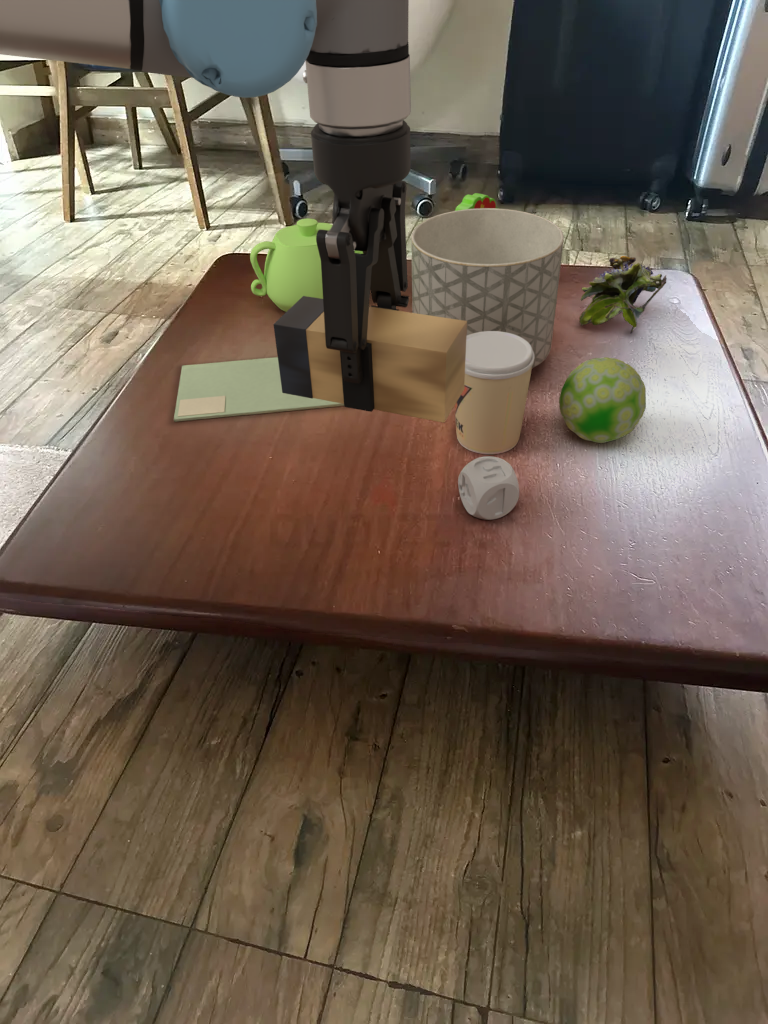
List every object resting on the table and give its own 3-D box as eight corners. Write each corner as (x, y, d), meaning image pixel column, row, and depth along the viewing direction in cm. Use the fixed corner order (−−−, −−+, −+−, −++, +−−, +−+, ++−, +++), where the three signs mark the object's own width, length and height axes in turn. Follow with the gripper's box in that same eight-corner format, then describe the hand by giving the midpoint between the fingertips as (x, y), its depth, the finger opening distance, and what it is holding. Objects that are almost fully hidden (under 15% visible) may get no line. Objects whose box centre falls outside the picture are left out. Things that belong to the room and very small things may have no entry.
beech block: (464, 389, 73) (467, 320, 69) (444, 423, 69) (446, 352, 64) (310, 362, 78) (303, 295, 74) (282, 393, 74) (273, 324, 69)
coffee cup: (452, 413, 100) (454, 328, 92) (526, 417, 99) (534, 330, 91) (446, 456, 93) (448, 367, 85) (526, 461, 92) (535, 371, 84)
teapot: (373, 272, 134) (370, 195, 126) (400, 309, 123) (398, 226, 115) (246, 293, 130) (234, 213, 121) (263, 332, 119) (250, 248, 110)
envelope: (174, 421, 101) (173, 418, 101) (182, 367, 111) (181, 364, 111) (358, 404, 103) (358, 401, 102) (349, 353, 113) (349, 349, 113)
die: (475, 525, 83) (477, 488, 80) (457, 497, 87) (458, 461, 84) (517, 513, 85) (521, 477, 81) (497, 487, 88) (500, 451, 85)
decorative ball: (609, 406, 100) (622, 335, 94) (654, 448, 93) (671, 375, 86) (540, 422, 98) (548, 351, 91) (580, 467, 91) (592, 392, 84)
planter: (572, 351, 111) (589, 224, 99) (506, 413, 100) (517, 277, 88) (458, 319, 120) (462, 199, 108) (386, 372, 109) (381, 244, 97)
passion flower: (608, 342, 124) (652, 273, 120) (644, 362, 115) (694, 288, 111) (555, 310, 119) (600, 237, 115) (589, 329, 110) (638, 250, 106)
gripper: (361, 90, 66) (373, 337, 81) (255, 154, 53) (292, 436, 68) (446, 94, 64) (441, 347, 79) (357, 163, 51) (372, 452, 66)
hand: (372, 388), depth 73 cm, fingers closed on beech block, 6 cm apart
